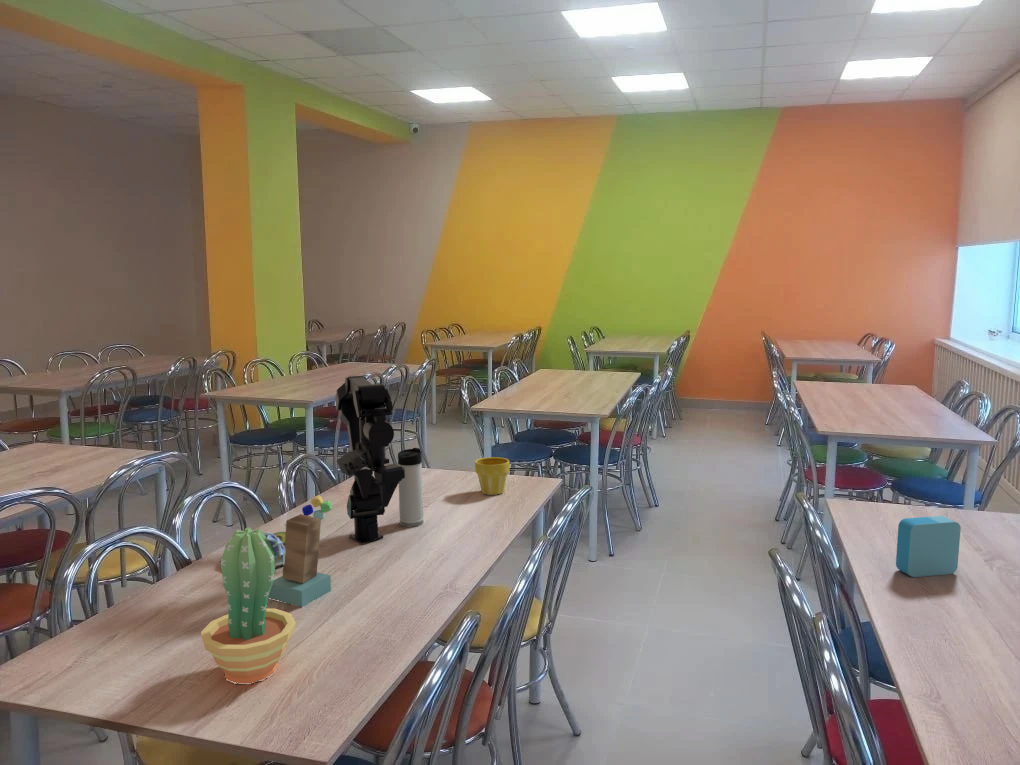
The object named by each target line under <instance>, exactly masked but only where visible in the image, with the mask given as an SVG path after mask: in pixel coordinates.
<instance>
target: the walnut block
mask: <svg viewBox="0 0 1020 765" xmlns="http://www.w3.org/2000/svg"><path fill="white" fill-rule="evenodd" d="M321 521H322V519H319V518H315V517H314V516H310V515H308V516H306V515H304V514H303V513H300V514H298V515H296V516H294V517H291V518H289V519H287V520H286V522H285V523H286V524H285V532H286V534H285V553H286V555H285V564H284V565H282V576H283V577H282V578H285V579H288V580H292V581H295V582H299V583H305V582H306V581H308V580H310V579H311V578H313V577H315V576H317V572H318V564H319V551H320V550H319V549H320V537H321V536H320V534H321V523H322V522H321Z"/></svg>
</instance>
